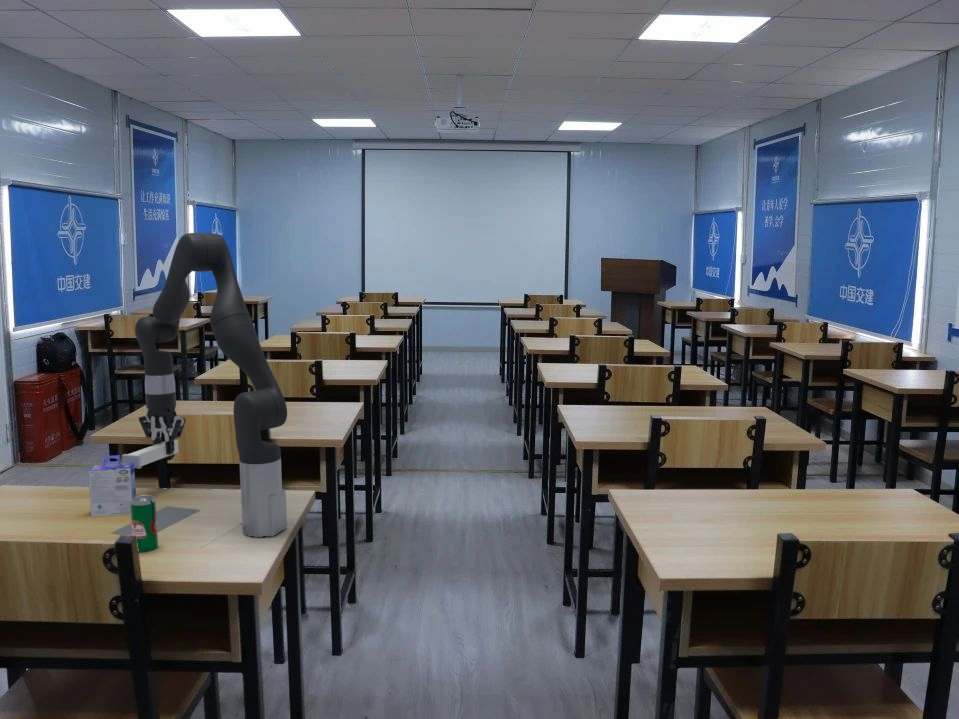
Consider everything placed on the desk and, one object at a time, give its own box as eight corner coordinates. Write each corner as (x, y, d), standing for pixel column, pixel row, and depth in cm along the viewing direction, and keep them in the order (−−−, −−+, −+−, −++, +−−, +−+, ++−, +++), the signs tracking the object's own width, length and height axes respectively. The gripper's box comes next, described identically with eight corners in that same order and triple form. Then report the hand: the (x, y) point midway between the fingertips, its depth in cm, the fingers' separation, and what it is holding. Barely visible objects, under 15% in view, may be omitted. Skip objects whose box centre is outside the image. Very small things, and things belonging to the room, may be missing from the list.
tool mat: (201, 512, 199) (201, 509, 198) (146, 540, 180) (146, 537, 180) (167, 508, 201) (167, 506, 201) (109, 535, 182) (109, 533, 182)
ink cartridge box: (137, 508, 202) (134, 453, 200) (134, 515, 196) (130, 458, 194) (95, 511, 199) (91, 455, 197) (90, 519, 194) (86, 461, 192)
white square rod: (181, 452, 217) (181, 440, 217) (139, 468, 202) (138, 456, 201) (166, 451, 219) (165, 439, 218) (122, 467, 203) (121, 454, 203)
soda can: (128, 552, 173) (124, 499, 171) (147, 544, 177) (144, 492, 175) (144, 556, 170) (140, 502, 169) (163, 548, 175) (160, 496, 173)
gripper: (191, 389, 213) (195, 452, 216) (148, 387, 218) (151, 448, 220) (173, 394, 206) (177, 459, 209) (128, 391, 210) (132, 455, 213)
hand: (164, 453), depth 214 cm, fingers closed on white square rod, 3 cm apart
